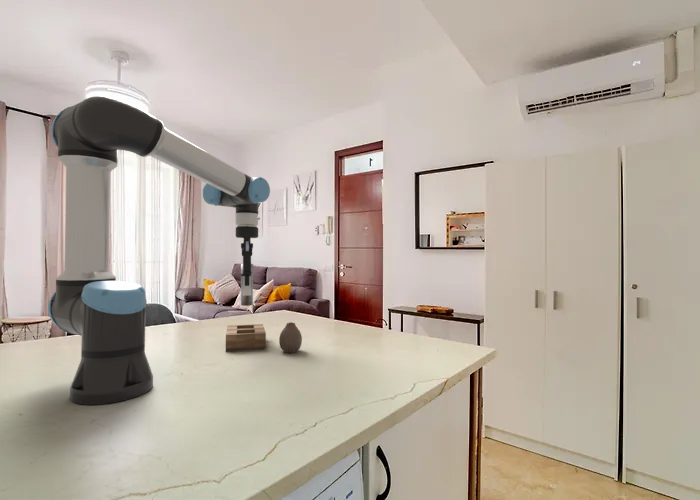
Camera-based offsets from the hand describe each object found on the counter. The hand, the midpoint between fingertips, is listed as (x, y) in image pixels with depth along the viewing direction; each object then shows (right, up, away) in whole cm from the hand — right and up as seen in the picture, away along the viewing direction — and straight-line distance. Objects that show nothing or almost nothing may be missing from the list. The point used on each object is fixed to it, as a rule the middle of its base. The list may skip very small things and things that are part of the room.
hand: (246, 294), depth 129 cm
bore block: (+1, -16, -4) cm, 17 cm away
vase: (+17, -16, -13) cm, 27 cm away
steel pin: (0, -4, 0) cm, 4 cm away
